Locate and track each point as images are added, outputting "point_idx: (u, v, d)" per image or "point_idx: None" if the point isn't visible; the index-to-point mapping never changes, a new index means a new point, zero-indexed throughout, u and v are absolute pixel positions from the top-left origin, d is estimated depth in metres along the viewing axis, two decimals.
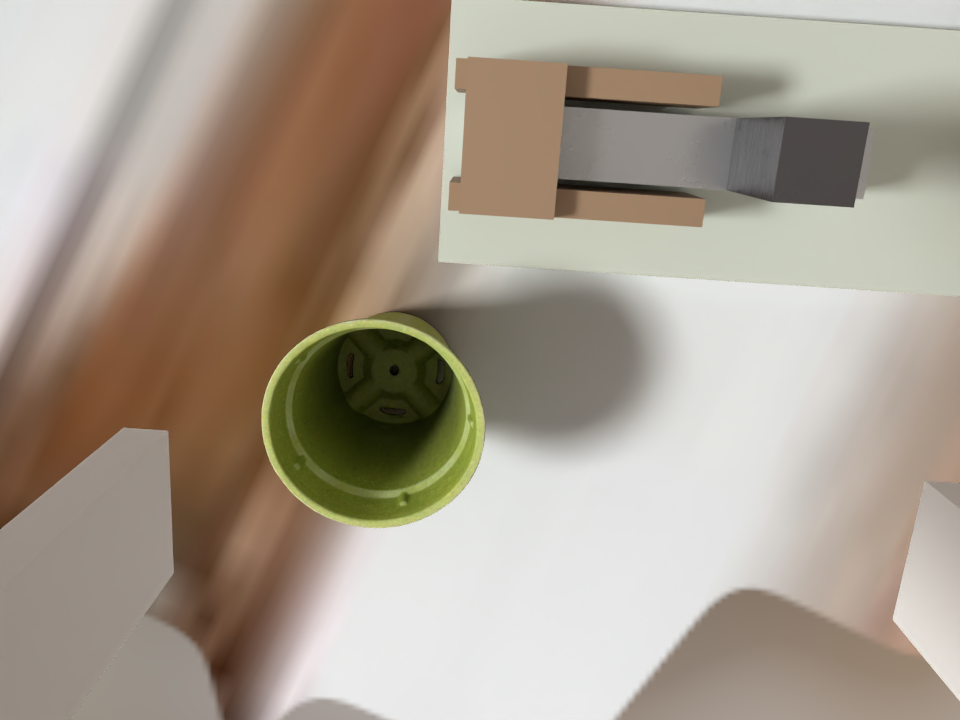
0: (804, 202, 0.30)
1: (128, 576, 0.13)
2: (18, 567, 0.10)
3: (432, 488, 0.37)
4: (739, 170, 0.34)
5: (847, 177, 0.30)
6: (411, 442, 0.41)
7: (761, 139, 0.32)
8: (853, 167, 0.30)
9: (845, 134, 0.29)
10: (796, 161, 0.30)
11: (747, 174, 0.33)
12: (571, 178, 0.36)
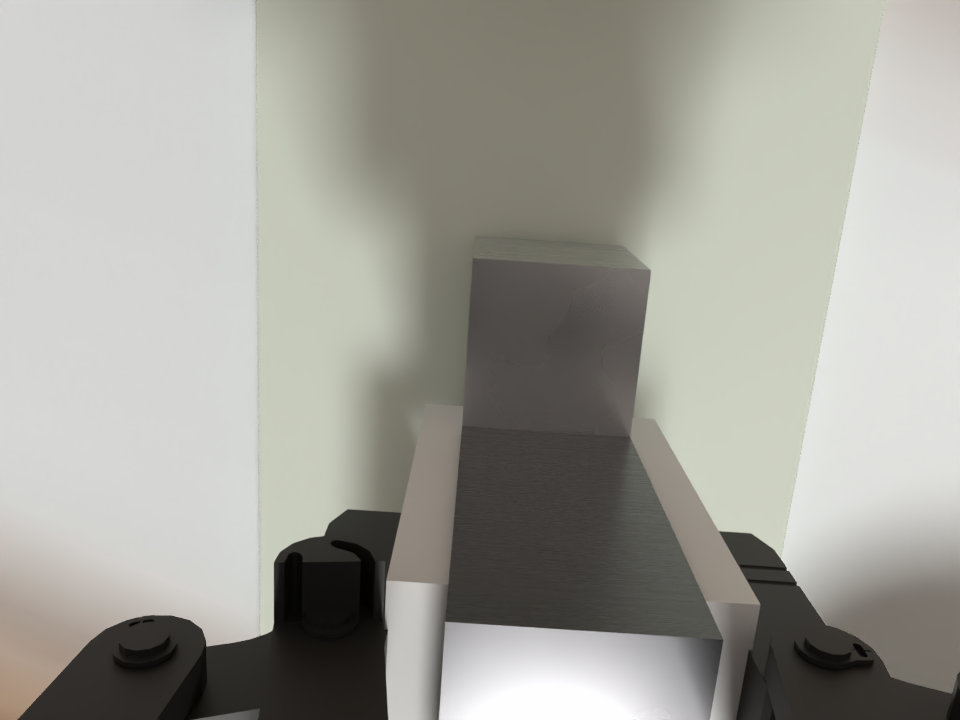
0: None
1: None
2: (449, 508, 0.12)
3: None
4: None
5: (621, 668, 0.09)
6: None
7: None
8: (587, 654, 0.09)
9: (483, 686, 0.09)
10: None
11: None
12: None
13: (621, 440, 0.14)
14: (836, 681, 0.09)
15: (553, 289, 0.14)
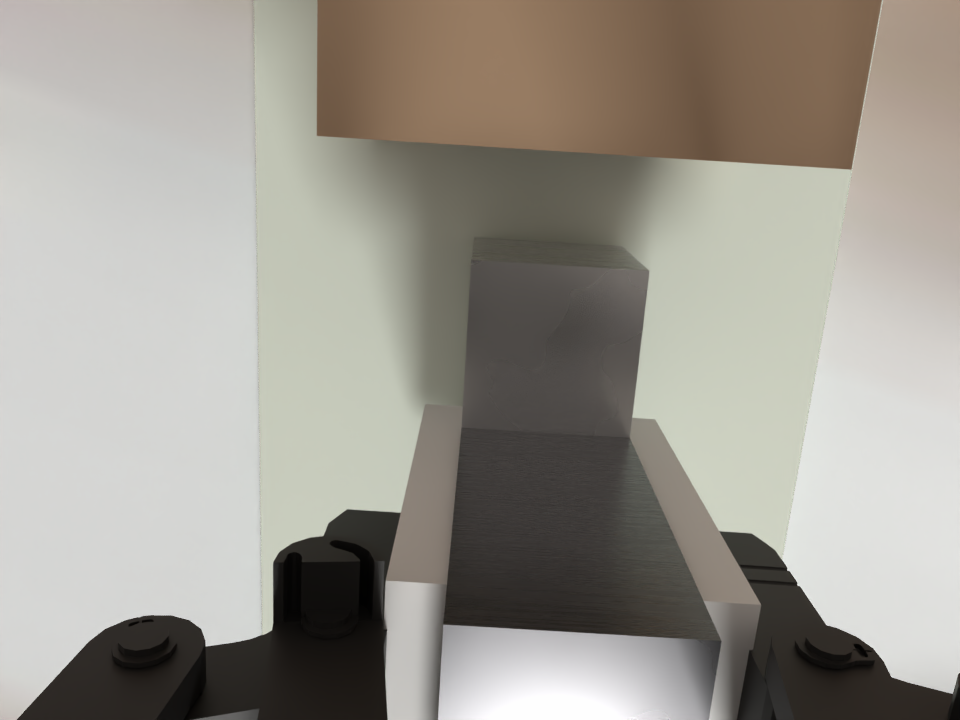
0: None
1: None
2: (449, 508, 0.12)
3: None
4: None
5: (619, 670, 0.09)
6: None
7: None
8: (585, 656, 0.09)
9: (482, 688, 0.09)
10: None
11: None
12: None
13: (621, 441, 0.14)
14: (837, 681, 0.09)
15: (552, 290, 0.14)
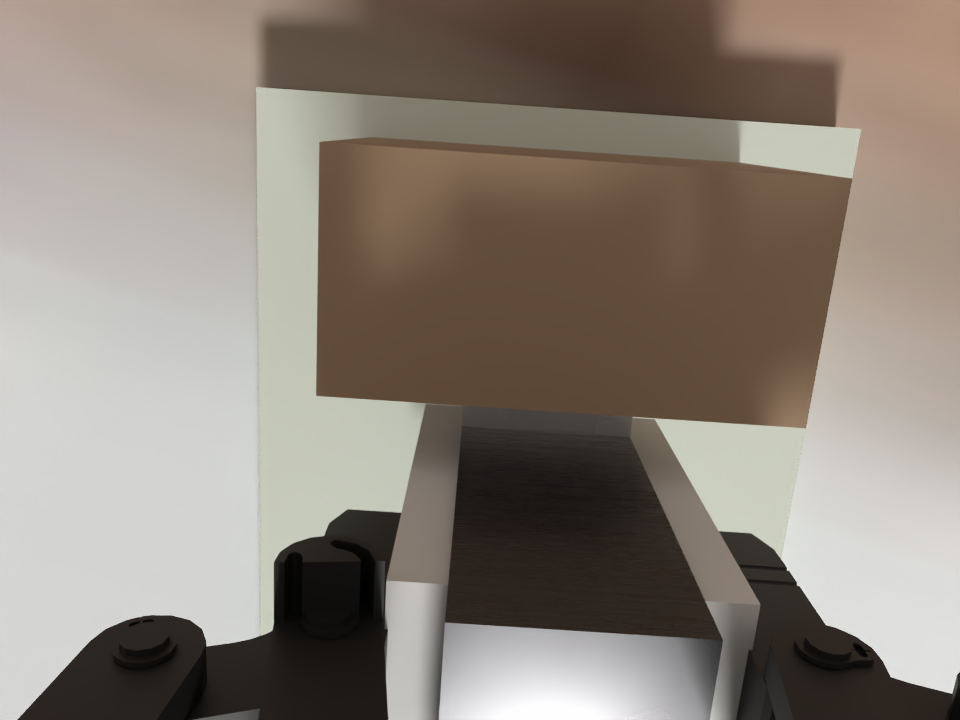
0: None
1: None
2: (449, 508, 0.12)
3: None
4: None
5: (621, 669, 0.09)
6: None
7: None
8: (587, 654, 0.09)
9: (483, 687, 0.09)
10: None
11: None
12: None
13: (621, 440, 0.14)
14: (836, 681, 0.09)
15: None
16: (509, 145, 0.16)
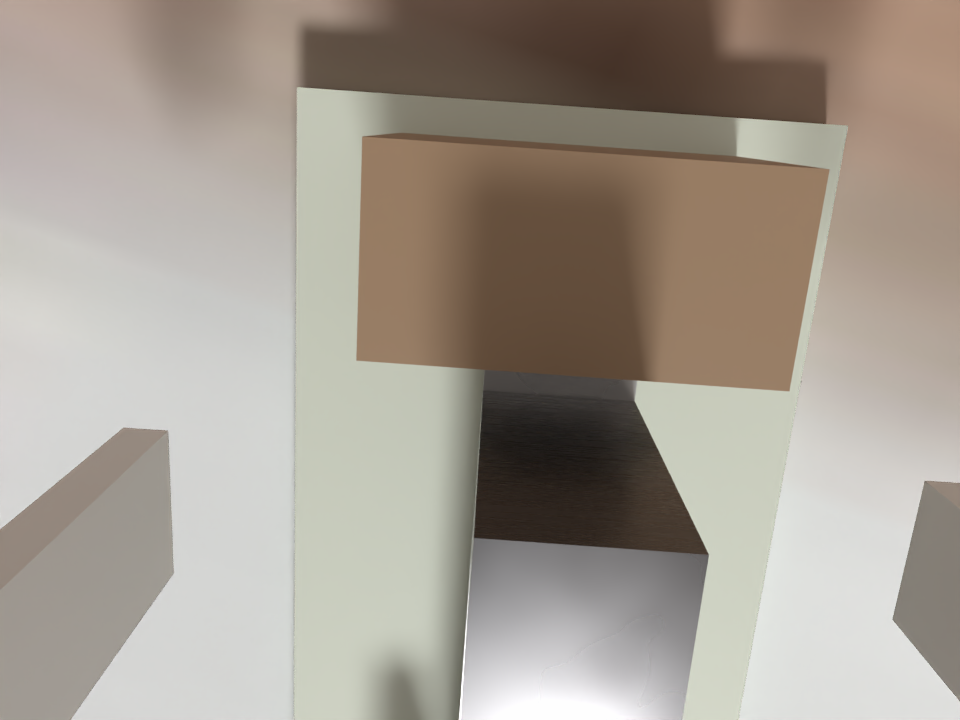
0: (684, 678, 0.11)
1: (128, 576, 0.13)
2: (18, 566, 0.10)
3: None
4: None
5: (622, 579, 0.11)
6: None
7: None
8: (593, 566, 0.11)
9: (506, 594, 0.11)
10: (573, 703, 0.11)
11: None
12: None
13: (626, 403, 0.16)
14: None
15: None
16: (526, 140, 0.18)
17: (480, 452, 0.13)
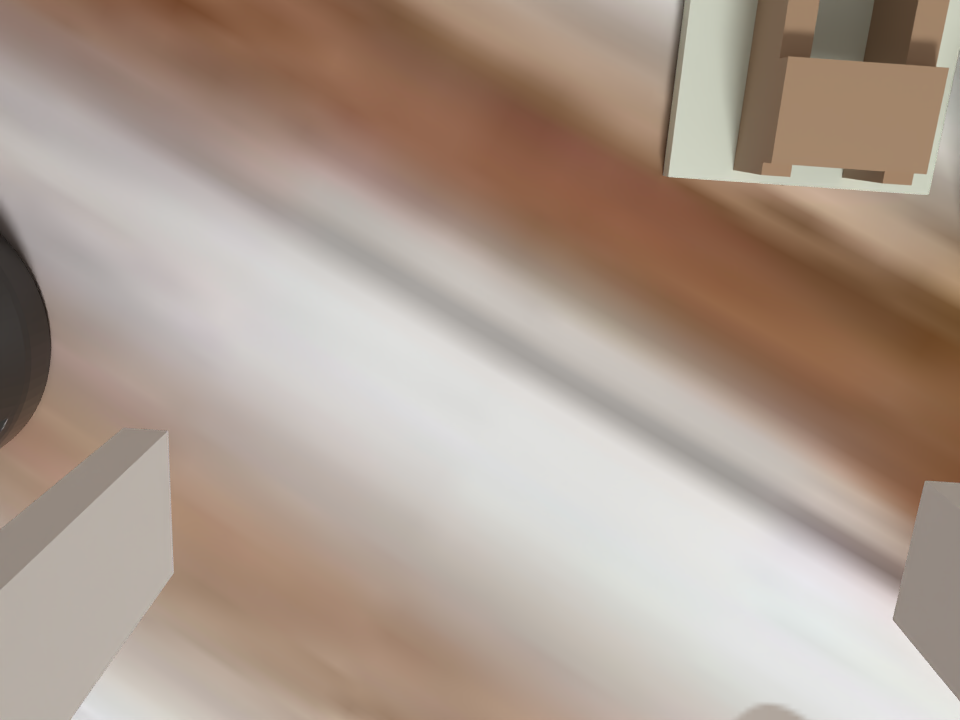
0: None
1: (128, 576, 0.13)
2: (18, 567, 0.10)
3: None
4: None
5: None
6: None
7: None
8: None
9: None
10: None
11: None
12: None
13: None
14: None
15: None
16: None
17: None
